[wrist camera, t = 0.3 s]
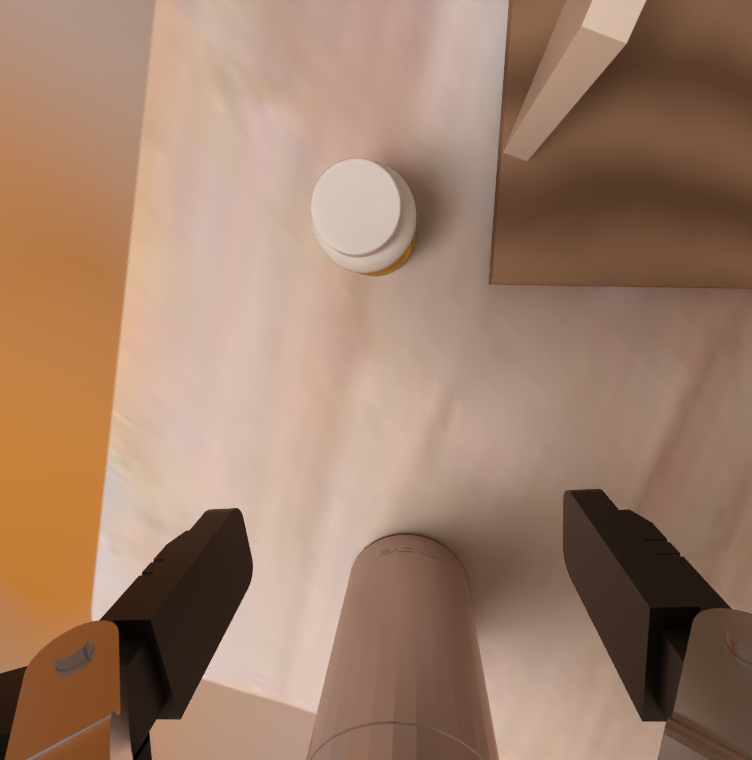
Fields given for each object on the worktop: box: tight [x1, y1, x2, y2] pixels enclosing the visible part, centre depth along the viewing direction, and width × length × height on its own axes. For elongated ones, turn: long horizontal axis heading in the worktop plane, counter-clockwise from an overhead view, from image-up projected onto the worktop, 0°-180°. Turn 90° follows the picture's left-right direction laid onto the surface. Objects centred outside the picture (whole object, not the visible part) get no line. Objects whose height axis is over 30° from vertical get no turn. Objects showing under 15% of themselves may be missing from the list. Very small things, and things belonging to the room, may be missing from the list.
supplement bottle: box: [311, 158, 417, 276], centre depth 23 cm, size 5×5×10 cm
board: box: [489, 0, 752, 289], centre depth 24 cm, size 22×18×1 cm
